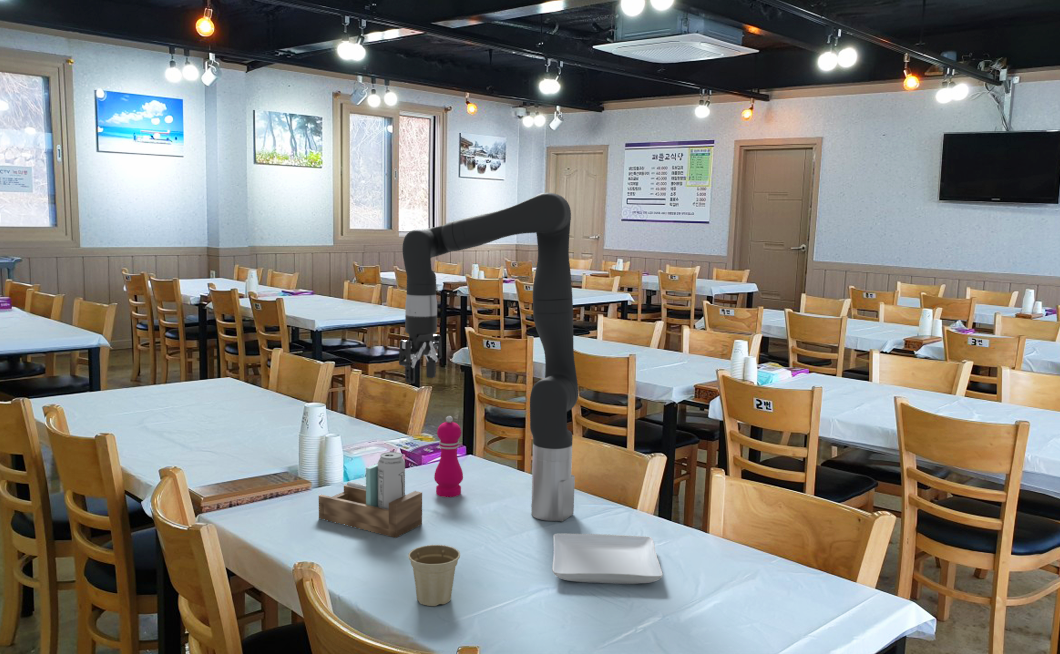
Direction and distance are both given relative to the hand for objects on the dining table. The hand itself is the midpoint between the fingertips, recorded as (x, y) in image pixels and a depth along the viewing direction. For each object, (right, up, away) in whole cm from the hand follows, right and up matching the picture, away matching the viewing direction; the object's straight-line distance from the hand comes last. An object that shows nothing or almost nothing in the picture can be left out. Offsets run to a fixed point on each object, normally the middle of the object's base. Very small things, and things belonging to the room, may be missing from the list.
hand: (420, 380), depth 206 cm
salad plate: (+41, -36, -33) cm, 64 cm away
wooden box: (-10, -32, -11) cm, 35 cm away
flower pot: (+9, -37, -50) cm, 63 cm away
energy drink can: (-5, -31, -14) cm, 34 cm away
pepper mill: (+6, -29, +10) cm, 31 cm away
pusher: (-12, -30, -11) cm, 34 cm away
